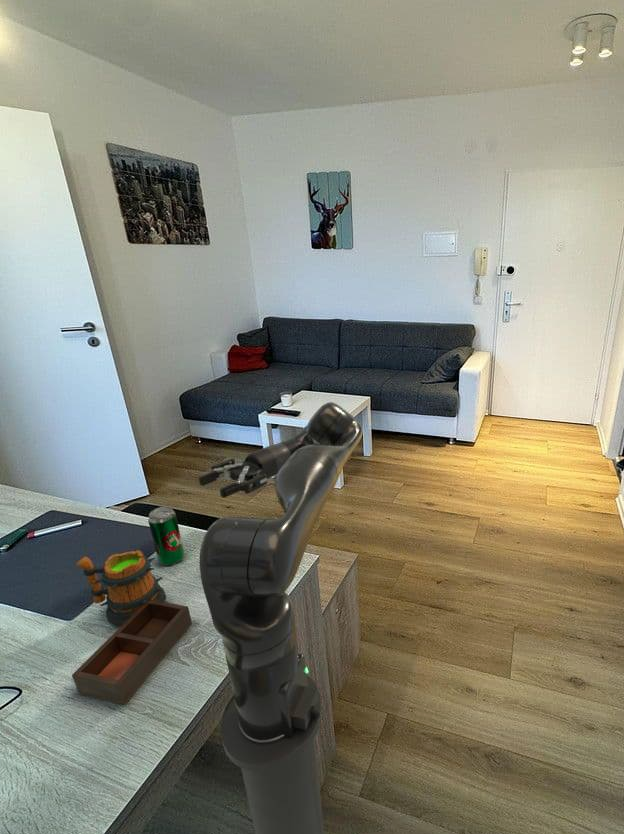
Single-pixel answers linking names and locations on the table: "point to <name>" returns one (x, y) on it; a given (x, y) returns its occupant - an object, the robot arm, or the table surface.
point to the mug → (123, 584)
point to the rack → (132, 652)
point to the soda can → (166, 535)
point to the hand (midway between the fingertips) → (210, 487)
